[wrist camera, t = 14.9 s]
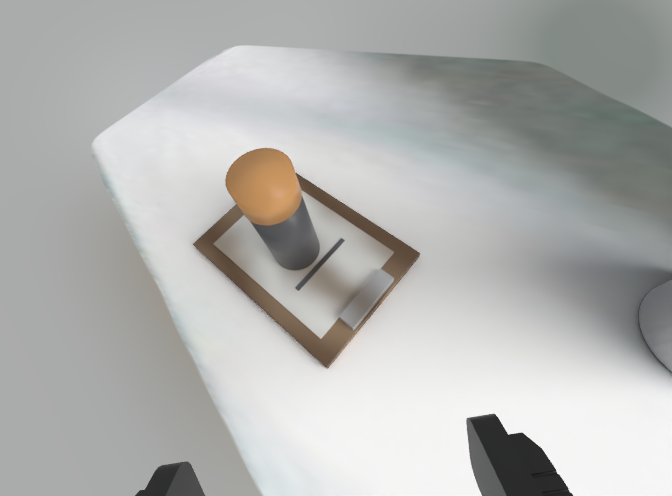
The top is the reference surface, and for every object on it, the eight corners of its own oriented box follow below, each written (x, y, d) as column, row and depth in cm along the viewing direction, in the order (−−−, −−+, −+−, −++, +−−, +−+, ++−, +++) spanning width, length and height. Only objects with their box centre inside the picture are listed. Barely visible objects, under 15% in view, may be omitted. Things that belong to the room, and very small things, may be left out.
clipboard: (282, 167, 41) (278, 157, 40) (419, 256, 34) (420, 248, 32) (196, 247, 38) (188, 240, 36) (327, 368, 30) (324, 365, 28)
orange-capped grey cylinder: (296, 220, 36) (260, 138, 26) (330, 244, 34) (307, 167, 24) (264, 253, 35) (211, 181, 24) (298, 280, 33) (257, 215, 22)
